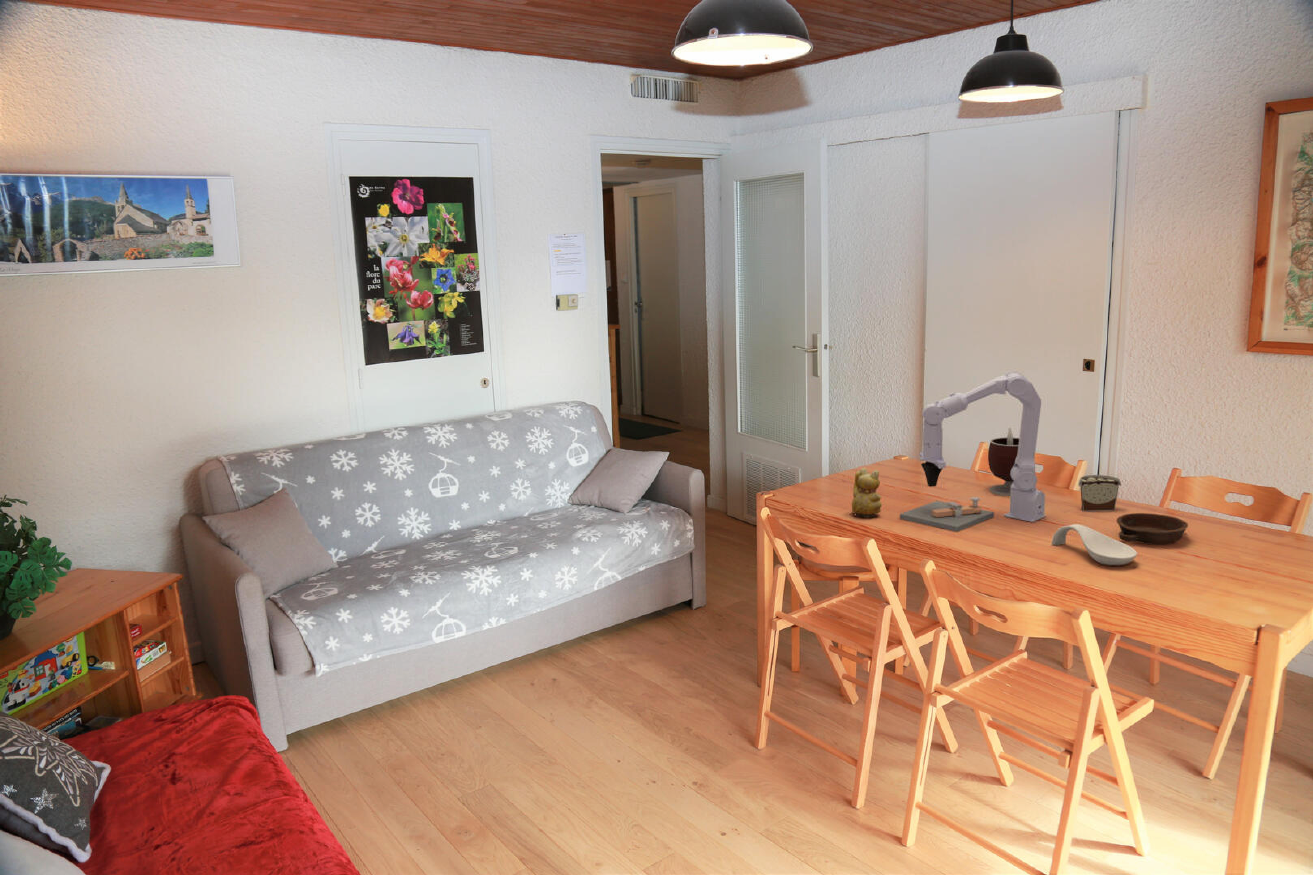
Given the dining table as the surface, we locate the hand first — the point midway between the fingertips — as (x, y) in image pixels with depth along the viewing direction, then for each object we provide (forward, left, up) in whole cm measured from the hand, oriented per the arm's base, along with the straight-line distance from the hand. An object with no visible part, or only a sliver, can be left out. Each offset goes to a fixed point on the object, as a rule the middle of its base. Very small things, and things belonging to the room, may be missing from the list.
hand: (932, 485), depth 290 cm
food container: (-33, -38, -10) cm, 52 cm away
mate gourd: (-3, -40, -10) cm, 42 cm away
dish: (-57, -20, -10) cm, 61 cm away
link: (-8, -1, -8) cm, 11 cm away
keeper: (-8, 0, -8) cm, 11 cm away
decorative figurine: (+15, +14, -10) cm, 22 cm away
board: (-5, 0, -9) cm, 11 cm away
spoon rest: (-52, +4, -10) cm, 53 cm away
